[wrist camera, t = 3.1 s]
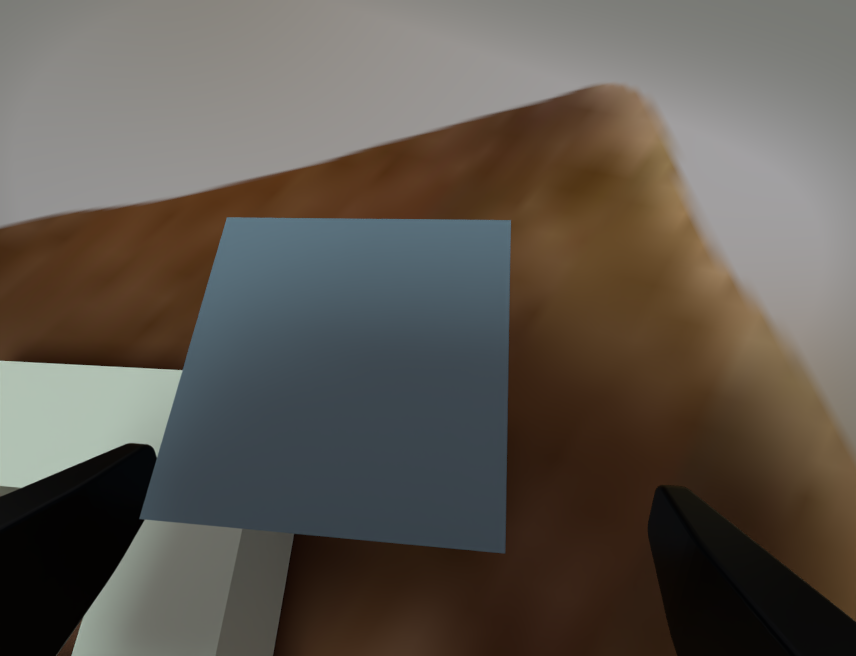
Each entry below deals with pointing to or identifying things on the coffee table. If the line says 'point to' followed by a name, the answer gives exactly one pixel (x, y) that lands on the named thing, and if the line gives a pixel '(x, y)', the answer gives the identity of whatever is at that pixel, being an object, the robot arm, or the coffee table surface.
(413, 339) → the peg
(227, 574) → the socket block
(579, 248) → the coffee table surface
